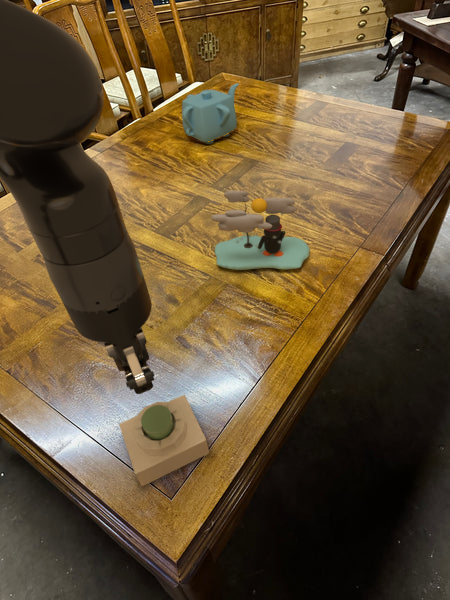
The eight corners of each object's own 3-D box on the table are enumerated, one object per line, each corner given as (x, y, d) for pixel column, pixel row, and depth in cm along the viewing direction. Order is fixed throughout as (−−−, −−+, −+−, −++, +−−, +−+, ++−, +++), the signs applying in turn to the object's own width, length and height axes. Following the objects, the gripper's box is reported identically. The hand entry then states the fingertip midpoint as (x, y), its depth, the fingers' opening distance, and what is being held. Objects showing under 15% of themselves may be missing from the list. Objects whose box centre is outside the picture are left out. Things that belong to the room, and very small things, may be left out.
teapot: (231, 147, 126) (228, 101, 117) (179, 147, 129) (172, 102, 120) (241, 122, 138) (239, 79, 129) (193, 123, 142) (188, 80, 132)
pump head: (149, 445, 54) (146, 437, 53) (140, 420, 57) (137, 412, 56) (178, 431, 55) (175, 424, 54) (168, 408, 58) (165, 400, 57)
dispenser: (142, 486, 56) (131, 467, 52) (126, 437, 62) (115, 416, 57) (209, 453, 59) (204, 432, 54) (188, 408, 64) (182, 386, 60)
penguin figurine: (309, 243, 90) (314, 179, 79) (308, 276, 83) (313, 210, 72) (218, 241, 93) (211, 179, 83) (210, 272, 86) (200, 209, 75)
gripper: (47, 253, 41) (100, 360, 53) (72, 345, 32) (128, 448, 44) (121, 229, 43) (155, 337, 55) (163, 309, 34) (193, 417, 46)
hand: (143, 386), depth 50 cm, fingers closed
